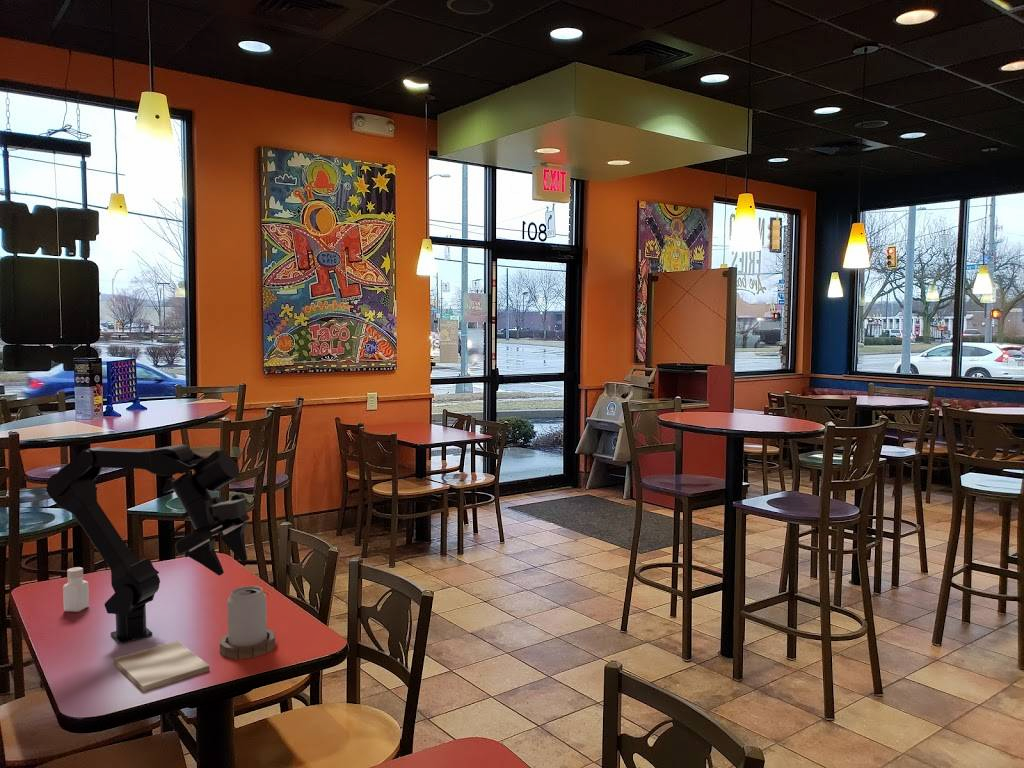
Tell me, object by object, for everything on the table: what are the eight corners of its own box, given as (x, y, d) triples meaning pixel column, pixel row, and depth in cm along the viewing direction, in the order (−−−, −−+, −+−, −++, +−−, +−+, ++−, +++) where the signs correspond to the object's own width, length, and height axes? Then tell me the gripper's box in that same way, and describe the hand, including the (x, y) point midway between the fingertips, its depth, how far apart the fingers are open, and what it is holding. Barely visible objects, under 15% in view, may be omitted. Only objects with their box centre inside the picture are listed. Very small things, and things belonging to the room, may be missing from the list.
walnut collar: (211, 647, 153) (211, 637, 153) (260, 632, 161) (260, 623, 161) (234, 663, 146) (234, 653, 146) (284, 647, 153) (284, 638, 153)
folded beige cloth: (114, 663, 146) (113, 658, 146) (177, 645, 154) (177, 640, 154) (142, 691, 134) (142, 686, 134) (209, 670, 143) (209, 665, 143)
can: (275, 644, 155) (274, 587, 154) (245, 658, 148) (244, 599, 147) (250, 637, 159) (249, 581, 158) (220, 650, 152) (218, 592, 151)
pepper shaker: (90, 606, 176) (88, 566, 175) (79, 612, 172) (77, 572, 171) (74, 605, 176) (72, 566, 176) (62, 612, 173) (61, 571, 172)
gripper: (202, 492, 144) (241, 563, 144) (251, 474, 162) (286, 537, 162) (157, 518, 146) (195, 589, 146) (210, 498, 164) (245, 560, 164)
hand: (233, 567), depth 154 cm, fingers open, 9 cm apart
